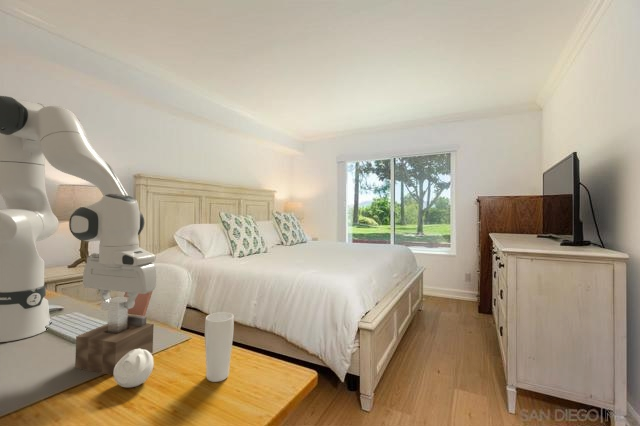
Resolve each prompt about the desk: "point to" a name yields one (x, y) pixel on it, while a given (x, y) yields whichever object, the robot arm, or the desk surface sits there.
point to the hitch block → (112, 345)
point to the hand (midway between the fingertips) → (118, 306)
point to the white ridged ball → (133, 368)
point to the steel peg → (116, 314)
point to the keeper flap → (140, 304)
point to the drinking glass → (218, 345)
